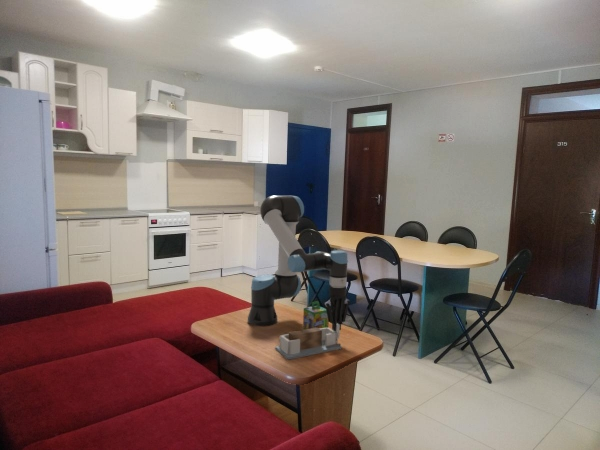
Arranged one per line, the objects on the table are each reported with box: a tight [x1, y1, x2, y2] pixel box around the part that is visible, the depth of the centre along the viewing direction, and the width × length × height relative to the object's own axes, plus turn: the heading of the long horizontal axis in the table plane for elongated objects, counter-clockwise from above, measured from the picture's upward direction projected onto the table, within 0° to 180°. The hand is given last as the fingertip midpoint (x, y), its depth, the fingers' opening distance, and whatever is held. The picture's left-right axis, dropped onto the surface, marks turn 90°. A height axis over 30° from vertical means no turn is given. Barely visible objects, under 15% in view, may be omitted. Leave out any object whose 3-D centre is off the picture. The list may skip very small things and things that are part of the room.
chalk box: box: [302, 300, 330, 330], centre depth 192 cm, size 9×9×15 cm
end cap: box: [320, 326, 338, 346], centre depth 176 cm, size 8×6×5 cm
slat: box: [288, 328, 322, 350], centre depth 171 cm, size 14×4×7 cm, turn 118°
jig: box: [274, 333, 343, 360], centre depth 172 cm, size 12×26×6 cm, turn 118°
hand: (336, 337), depth 179 cm, fingers closed
